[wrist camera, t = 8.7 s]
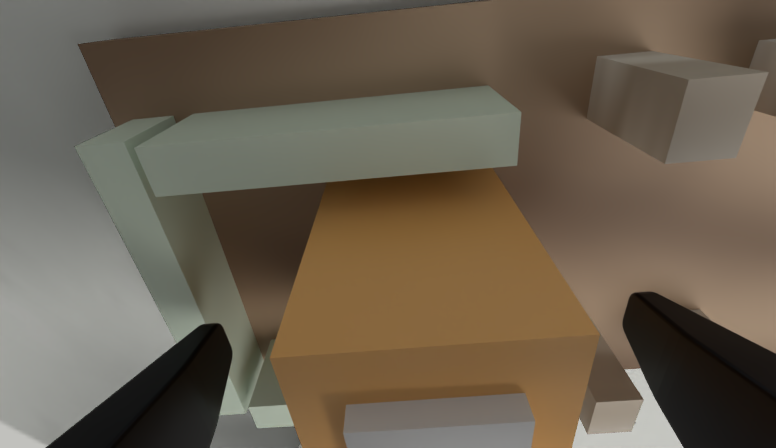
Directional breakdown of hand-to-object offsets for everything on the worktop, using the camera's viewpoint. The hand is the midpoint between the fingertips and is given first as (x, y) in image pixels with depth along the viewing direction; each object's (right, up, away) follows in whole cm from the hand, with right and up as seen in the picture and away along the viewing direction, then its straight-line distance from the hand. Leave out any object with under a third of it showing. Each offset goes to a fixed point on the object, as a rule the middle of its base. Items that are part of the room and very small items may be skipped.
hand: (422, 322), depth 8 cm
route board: (+5, +3, +3) cm, 7 cm away
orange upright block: (0, +2, +3) cm, 3 cm away
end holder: (-2, +1, +3) cm, 4 cm away
